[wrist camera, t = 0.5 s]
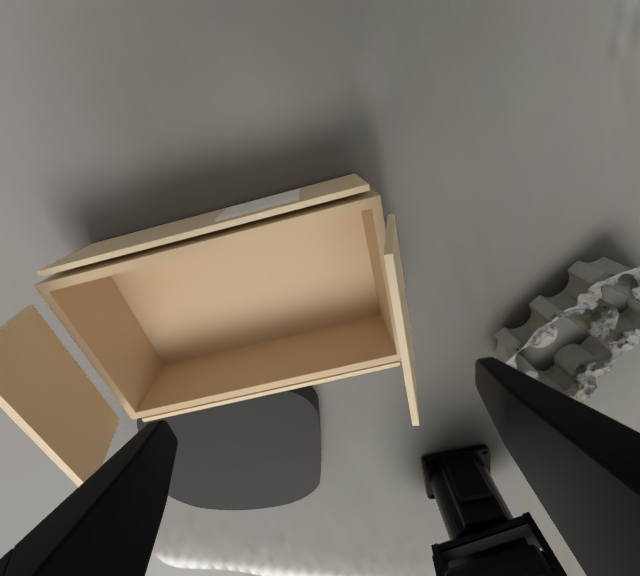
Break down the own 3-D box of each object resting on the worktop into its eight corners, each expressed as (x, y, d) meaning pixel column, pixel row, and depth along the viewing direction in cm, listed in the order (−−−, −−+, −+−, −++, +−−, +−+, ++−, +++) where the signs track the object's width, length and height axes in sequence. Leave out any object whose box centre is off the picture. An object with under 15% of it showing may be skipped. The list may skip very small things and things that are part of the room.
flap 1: (119, 419, 19) (92, 491, 15) (114, 421, 19) (85, 494, 15) (32, 305, 16) (-36, 358, 12) (26, 307, 16) (-45, 361, 11)
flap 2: (387, 214, 14) (383, 254, 10) (394, 213, 14) (392, 253, 10) (409, 354, 18) (412, 425, 14) (414, 354, 18) (419, 425, 14)
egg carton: (527, 381, 28) (561, 420, 24) (474, 339, 25) (503, 374, 22) (645, 297, 24) (706, 327, 20) (596, 239, 22) (654, 260, 18)
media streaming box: (176, 484, 32) (164, 516, 29) (139, 372, 25) (119, 400, 23) (320, 478, 32) (321, 509, 30) (319, 367, 26) (320, 393, 23)
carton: (388, 322, 24) (407, 366, 19) (167, 373, 25) (136, 425, 21) (360, 169, 19) (377, 179, 14) (87, 242, 20) (24, 273, 16)
